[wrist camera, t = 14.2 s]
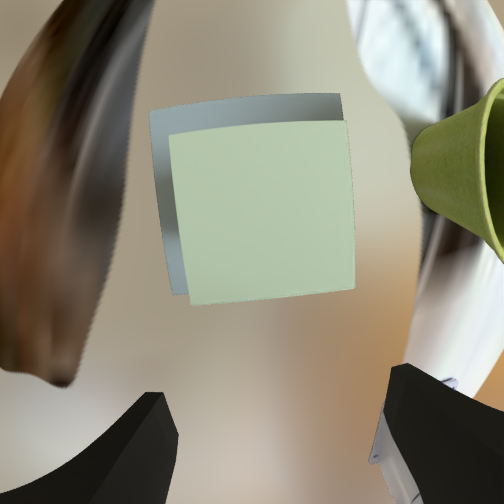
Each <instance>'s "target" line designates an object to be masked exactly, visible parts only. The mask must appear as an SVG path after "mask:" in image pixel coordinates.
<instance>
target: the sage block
mask: <svg viewBox="0 0 504 504" xmlns="http://www.w3.org/2000/svg"><path fill="white" fill-rule="evenodd" d="M169 147H170V158H171V168H172V177H173V186H174V195H175V203H176V211H177V219H178V226H179V234H180V241H181V247H182V254H183V261H184V267H185V273H186V279H187V285H188V291H189V297H190V302H191V305H205V304H218V303H230V302H241V301H252V300H262V299H271V298H281V297H290V296H299V295H307V294H316V293H324V292H332V291H340V290H348V289H354V288H355V226H354V202H353V188H352V187H353V186H352V172H351V160H350V149H349V140H348V130H347V122H346V121H295V122H277V123H262V124H250V125H240V126H230V127H222V128H214V129H206V130H199V131H192V132H185V133H179V134H173V135H169Z"/></svg>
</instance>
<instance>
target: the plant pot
mask: <svg viewBox="0 0 504 504" xmlns="http://www.w3.org/2000/svg"><path fill="white" fill-rule="evenodd" d="M410 175H411V180H412V183H413V186H414V189H415V191H416V193H417V195H418V196H419V198H420V199H421V201H422V202H423V203H424V204H425V205H426V206H427V207H428V208H430V209H431V210H433V211H434V212H436V213H438V214H440V215H442V216H444V217H446V218H448V219H450V220H452V221H454V222H455V223H457V224H459V225H461V226H462V227H464V228H466V229H468V230H469V231H471V232H473V233H474V234H476V235H477V236H479V237H481V238H482V239H484V240H485V242H486V243H487V244H488V245H489V246H490V247H491V248H492V249H493V250H494V251H495V253H496V255H497V256H498V258H499V259H500V260H501V261H502V263H503V264H504V78H502V79H500V80H498V81H497V82H495V83H494V84H493V85H492V87H491V88H490V89H489V91H488V93H487V94H486V95H485V96H484V97H483V98H481V99H480V101H479V102H478V103H477V104H475V105H473V106H471V107H469V108H467V109H465V110H463V111H461V112H459V113H457V114H455V115H453V116H450V117H448V118H446V119H444V120H442V121H440V122H438V123H435V124H433V125H431V126H429V127H427V128H425V129H424V130H423V131H421V132H420V134H419V135H418V136H417V138H416V139H415V141H414V143H413V146H412V156H411V167H410Z"/></svg>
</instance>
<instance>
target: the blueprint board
mask: <svg viewBox="0 0 504 504" xmlns="http://www.w3.org/2000/svg"><path fill="white" fill-rule="evenodd" d="M149 121H150V133H151V147H152V158H153V168H154V177H155V186H156V194H157V202H158V209H159V217H160V224H161V231H162V238H163V244H164V250H165V256H166V262H167V268H168V274H169V279H170V285H171V290H172V295H182V294H189V291H188V285H187V279H186V273H185V267H184V261H183V254H182V247H181V241H180V234H179V226H178V219H177V211H176V203H175V195H174V186H173V177H172V168H171V158H170V147H169V135H173V134H179V133H185V132H192V131H199V130H206V129H214V128H222V127H230V126H240V125H250V124H262V123H277V122H295V121H344V119H343V112H342V104H341V98H340V94H337V93H336V94H335V93H310V94H309V93H304V94H277V95H261V96H250V97H239V98H229V99H221V100H213V101H206V102H198V103H192V104H186V105H180V106H174V107H169V108H164V109H159V110H154V111H150V112H149Z"/></svg>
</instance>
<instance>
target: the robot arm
mask: <svg viewBox="0 0 504 504" xmlns="http://www.w3.org/2000/svg"><path fill="white" fill-rule="evenodd" d="M457 384H458V380H457V379H451V380H449V381H446V382H443V383H442V382H440V381H439V380H437V379H435V378H434V377H432V376H430V375H428V374H427V373H425V372H423V371H422V370H420V369H418V368H416V367H415V366H413V365H411V364H409V363H406V364H402V365H398V366H394V367H392V368H391V373H390V380H389V384H388V390H387V394H386V399H385V402H384V403H383V405H382V409H381V414H380V418H379V422H378V427H377V430H376V435H375V439H374V442H373V446H372V450H371V453H370V456H369V460H368V462H369V464H375V463H379V465H380V468H381V470H382V473H383V475H384V478H385V480H386V483H387V485H388V488H389V490H390V493H391V495H392V498H393V500H394V502H395V503H396V504H504V412H503V411H500V410H497V409H495V408H492V407H490V406H487V405H485V404H483V403H480V402H478V401H476V400H474V399H472V398H470V397H468V396H466V395H464V394H462V393H460V392H458V391H456V387H457ZM178 436H179V434H178V432H177V429H176V426H175V424H174V421H173V419H172V416H171V413H170V411H169V408H168V405H167V402H166V399H165V396H164V393H163V392H145V393H144V394H143V395H142V396H141V397H140V398H139V399H138V400H137V401H136V402H135V403H134V404H133V405H132V406H131V407H130V408H129V409H128V410H127V411H126V412H125V413H124V414H123V415H122V416H121V417H120V418H119V419H118V420H117V421H116V422H115V423H114V424H113V425H112V426H111V427H110V428H109V429H108V430H106V431H105V432H104V433H103V434H102V435H101V436H100V437H99V438H97V439H96V440H95V441H94V442H93V443H92V444H90V445H89V446H88V447H87V448H86V449H84V450H83V451H82V452H81V453H79V454H78V455H77V456H75V457H74V458H72V459H71V460H70V461H68V462H67V463H65V464H64V465H62V466H60V467H59V468H57V469H56V470H54V471H52V472H50V473H48V474H46V475H45V476H43V477H41V478H39V479H37V480H35V481H33V482H31V483H28V484H26V485H24V486H21V487H19V488H16V489H13V490H10V491H7V492H4V493H0V504H165V503H166V498H167V495H168V491H169V486H170V483H171V478H172V474H173V470H174V466H175V462H176V455H177V446H178Z"/></svg>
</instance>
